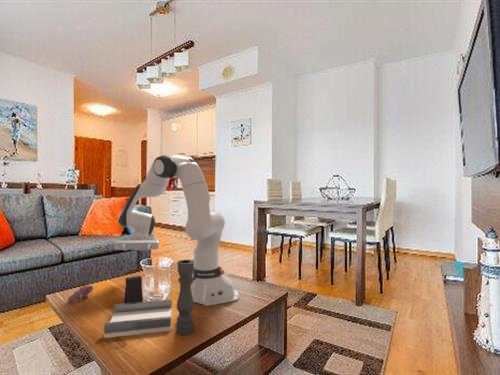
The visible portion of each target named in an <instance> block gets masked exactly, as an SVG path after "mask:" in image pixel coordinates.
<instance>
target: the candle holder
mask: <svg viewBox="0 0 500 375" xmlns="http://www.w3.org/2000/svg"><path fill="white" fill-rule="evenodd" d="M193 260H194V259H193ZM193 260H192V259H182V260H178V261H177V273H178V275H179V277H178V282H179V294H178V297H177V303H176V310H177V311H178V314H179V315H178V316H177V318H176V325H175V328H176V330H175V333H176V334H177V335H178V336H181V337H185V336H189V335H192V334H193V333H194V331H195V324H194V323H195V321H194V316H193V314H192V312H193V309H194V307H195V302H194V301H193V297H192V292H191V291H192V283H193V278H192V277H191V276H192V274H193V271H194V261H193Z"/></svg>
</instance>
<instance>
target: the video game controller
mask: <svg viewBox="0 0 500 375" xmlns="http://www.w3.org/2000/svg"><path fill="white" fill-rule="evenodd" d="M93 290H94V286H92V285H90V284H87V285H84V286H82V287H80V288H79V289H77V290H76V291H75V292H74V293H72V295H70V296H69V297H68V298H67V302H68V303H69V304H70V303H74V302H75V301H76V300H77V301H78V302H80V301H82V299H85V298H87V297H88V296H89V294H91V293H92V292H93Z"/></svg>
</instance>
